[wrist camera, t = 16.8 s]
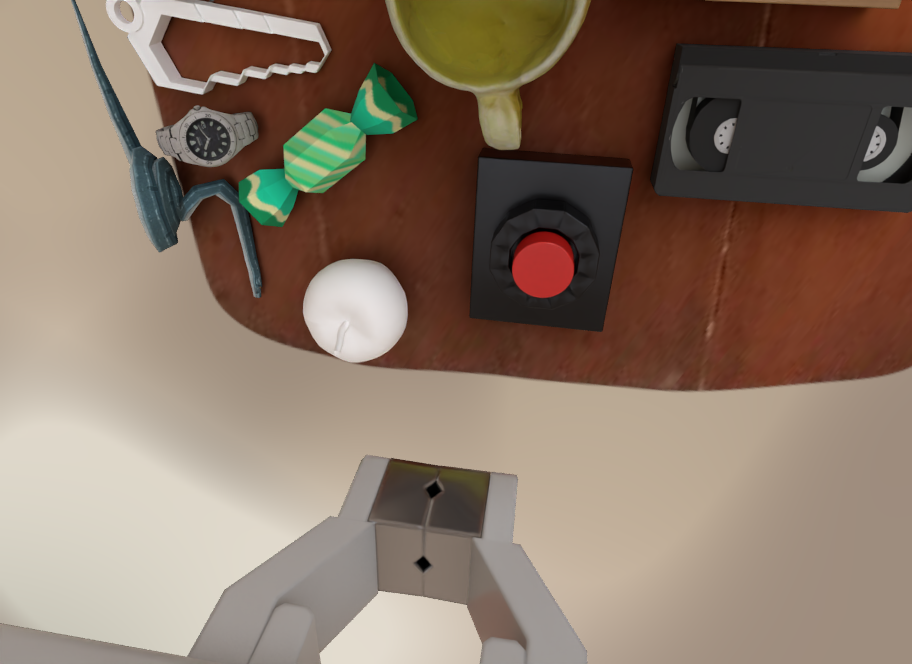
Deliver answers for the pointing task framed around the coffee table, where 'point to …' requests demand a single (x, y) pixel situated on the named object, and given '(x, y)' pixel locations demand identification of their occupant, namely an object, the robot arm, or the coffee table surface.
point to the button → (543, 264)
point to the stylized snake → (166, 181)
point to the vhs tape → (788, 127)
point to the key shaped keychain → (159, 3)
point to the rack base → (832, 3)
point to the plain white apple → (355, 309)
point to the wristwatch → (208, 136)
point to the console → (553, 210)
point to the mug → (488, 50)
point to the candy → (328, 148)
